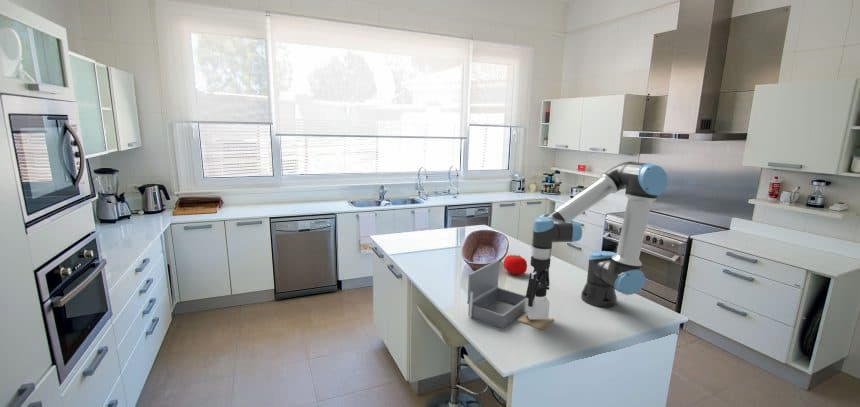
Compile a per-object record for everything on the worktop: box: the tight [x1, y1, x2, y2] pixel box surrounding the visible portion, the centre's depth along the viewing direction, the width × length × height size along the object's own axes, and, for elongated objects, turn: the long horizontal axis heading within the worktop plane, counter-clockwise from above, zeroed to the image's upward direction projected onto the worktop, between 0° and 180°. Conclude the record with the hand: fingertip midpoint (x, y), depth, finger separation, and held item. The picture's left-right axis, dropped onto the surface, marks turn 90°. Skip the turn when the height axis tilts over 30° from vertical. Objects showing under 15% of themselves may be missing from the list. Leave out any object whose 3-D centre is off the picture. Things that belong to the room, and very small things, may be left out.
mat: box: [517, 312, 555, 330], centre depth 160 cm, size 11×11×1 cm
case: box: [466, 259, 526, 329], centre depth 165 cm, size 17×25×18 cm
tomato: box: [503, 254, 528, 276], centre depth 211 cm, size 11×13×10 cm
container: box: [524, 283, 551, 320], centre depth 159 cm, size 8×8×13 cm
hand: (536, 308), depth 159 cm, fingers closed on container, 10 cm apart
